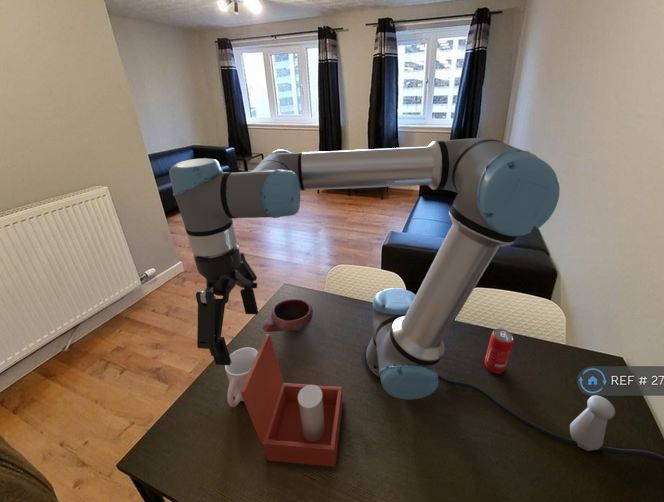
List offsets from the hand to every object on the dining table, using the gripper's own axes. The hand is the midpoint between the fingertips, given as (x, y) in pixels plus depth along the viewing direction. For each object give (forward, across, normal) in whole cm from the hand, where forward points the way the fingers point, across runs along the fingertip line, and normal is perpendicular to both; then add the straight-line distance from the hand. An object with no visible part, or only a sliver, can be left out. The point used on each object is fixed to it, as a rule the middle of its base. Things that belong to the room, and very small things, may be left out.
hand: (239, 336), depth 63 cm
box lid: (+10, +4, +6) cm, 12 cm away
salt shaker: (+26, 0, +74) cm, 78 cm away
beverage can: (+26, -18, +61) cm, 68 cm away
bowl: (+25, -27, +1) cm, 37 cm away
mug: (+25, -4, -5) cm, 26 cm away
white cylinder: (+24, +4, +15) cm, 28 cm away
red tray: (+25, +4, +13) cm, 28 cm away
